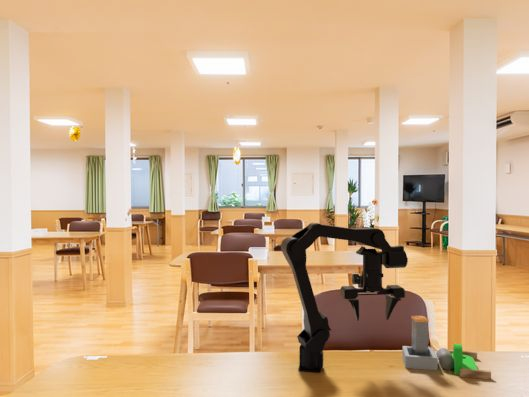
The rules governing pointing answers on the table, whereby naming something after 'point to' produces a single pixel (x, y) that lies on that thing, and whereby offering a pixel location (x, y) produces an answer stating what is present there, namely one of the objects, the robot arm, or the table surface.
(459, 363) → the mechanical part
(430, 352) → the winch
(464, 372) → the bay rails
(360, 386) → the table surface
